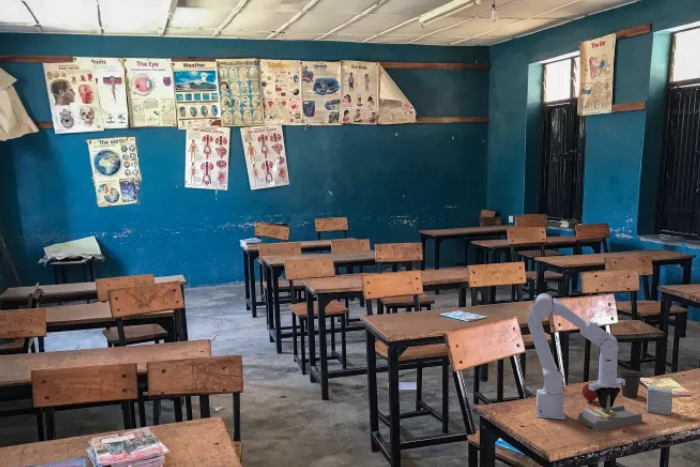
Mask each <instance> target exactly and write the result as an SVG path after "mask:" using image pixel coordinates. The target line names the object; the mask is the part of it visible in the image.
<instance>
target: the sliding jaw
mask: <svg viewBox="0 0 700 467" xmlns="http://www.w3.org/2000/svg"><path fill="white" fill-rule="evenodd" d="M593 410H594V412H595V413H596V414H598V415H600V416H601V419H603V420H607V419H612V418H617V417H618V414H617V413H615V412H613V411H611V410H610V395H608V398H607V406H606V409H603V408H601V407H599V408H596V409H595V408H594V409H593Z"/></svg>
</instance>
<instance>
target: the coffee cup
mask: <svg viewBox="0 0 700 467" xmlns="http://www.w3.org/2000/svg"><path fill="white" fill-rule="evenodd" d="M618 374H619V375H620V378H621V379H624V380H625V385H624V386H622V385H620V386H621V388H620V389H621V395H622V396H623V397H625V398H628V399H636V398H638V395H639V393H638V392H639V389H640V382H641V377H642V376H643V374H642V373H641V372H640V371H638V370H634V369H629V368H626V369H621V370H619V372H618Z"/></svg>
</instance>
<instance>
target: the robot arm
mask: <svg viewBox="0 0 700 467" xmlns="http://www.w3.org/2000/svg"><path fill="white" fill-rule="evenodd" d="M550 314H551V315H552V316H555V317H557V316H560V317H562V318H564V319H565V320H566V321H568V322H569V323H570V324H572V325H574V326H575V327H577V328H578V329H579V331H580V334H581V336H583V337H584V338H586V339H587V340H588V341H590V342H591V343H592V344H593V345H594V346H598V347H599V349H600V352H599V353H600V354H599V358H598V359H599V360H598V361H599V362H598V379H597V380H595V381H593V382H592V383H590V384H589V389H590V390H592V391H595V392H596V394H597V400H598V403H599V404H598V405H599V408H603V409H606V406H607V398H608V395H610V407H611V408H612V407H614V403H615V401H616V398H617V397H618V394H620V392H621V388H620V387H619V386H621V385H622V386H624V385H625V380H624V379H621V377H620V378H617V377H618V376H617V374H618V373H617V372H618V352H619V349H620V347H619V344H618V339H617V338H616V337H615V336H614V334H611V333H610V332H609V331H605V330H604V329H603V328H601V327H600V326H599V324H598V323H597V322H596V321H594V322H593V321H591V320H584V319H583V318H582V317H580V316H579V315H578V314H577V313H575V312H574V311H573V310H572V309H570V308H569V307H567V306H566V305H565V304H564V303H562V302H561V301H560V300H559V299H557V298H556V297H552V295H550V294H549V293H546V292H544V293H539V294H538V295H537V296H536V297H535V298H534V299H533V301H532V303H531V307H530V310H529V313H528V316H527V319H526V324H527V326H528V329H529V332H530V335H531V338H532V342H533V344H534V347H535V350H536V354H537V357H538V359H539V363H540V366H541V370H542V374H543V375H542V376H543V380H544V381H543V382H544V383H543V387H542V388H541V389H539V388H538V389H537V390H536V398H535V400H536V404H535V410H536V416H537V417H538V418H545V419H555V420H556V419H557V420H566V415H565V413H564V412H565V411H564V399H565V395H564V392H565V390H564V389H563V386H564V384H563V380H564V376H563V374H562V372H561V371H560V370H559V369H558V367H557V364H556V362H555V360H554V357H553V354H552V350H551V346H550V345H549V341H548V339H547V335H546V333H545V329H544V326H543V324H542V322H543V321H544V319H545V318H546V317H547V316H549V315H550Z"/></svg>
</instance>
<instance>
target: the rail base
mask: <svg viewBox="0 0 700 467" xmlns="http://www.w3.org/2000/svg"><path fill="white" fill-rule="evenodd" d="M610 410H611V411H613V412H615V413H617V414H618V417H617V418H612V419H607V420H603V419H601V416H600V415H598V414H596V413H595V412H594V409H593V410H590V409H589V408H586V407H585V408H582V412H579V414H578V421H579V422H581V423H583V424H585V425H586V426H588V427H590V428H592V429H594V430H595V431H602V430H607V429H612V428H618V427H622V426H627V425H633V424H636V423H642V422H643V417H642V416H643V414H642V413H640V412H638V413H633V412H632V411H629V410H627V409H626V408H625V405H624V404H622V405H621V404H620V405H615V406H613V407H612V408H611V407H610Z"/></svg>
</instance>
